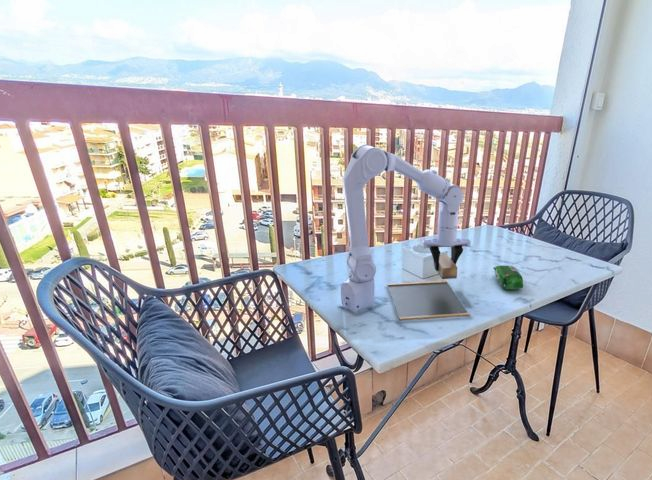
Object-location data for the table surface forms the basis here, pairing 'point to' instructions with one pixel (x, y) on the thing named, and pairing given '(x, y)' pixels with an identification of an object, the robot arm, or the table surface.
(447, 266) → the eraser
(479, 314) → the table surface
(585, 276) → the table surface
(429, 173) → the robot arm
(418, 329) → the table surface
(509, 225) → the table surface
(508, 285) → the snack package
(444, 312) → the slate board
